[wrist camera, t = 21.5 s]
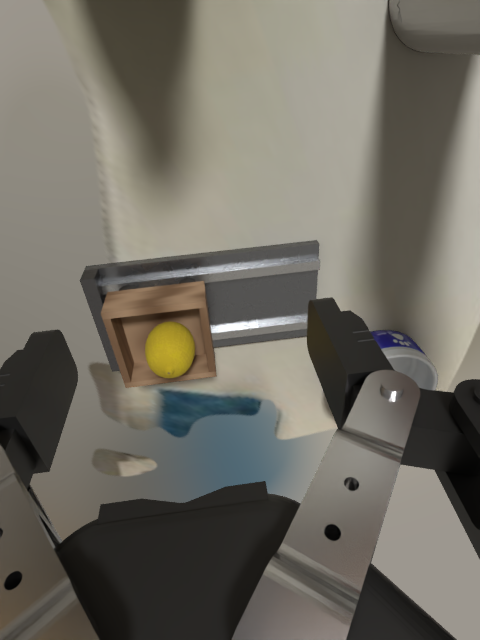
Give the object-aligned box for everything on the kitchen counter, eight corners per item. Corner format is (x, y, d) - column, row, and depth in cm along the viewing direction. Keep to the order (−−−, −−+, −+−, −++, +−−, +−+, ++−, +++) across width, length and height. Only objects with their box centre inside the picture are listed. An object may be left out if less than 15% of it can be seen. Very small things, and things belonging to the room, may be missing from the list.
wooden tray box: (203, 272, 46) (205, 301, 41) (213, 343, 53) (216, 376, 48) (110, 283, 46) (100, 313, 41) (131, 354, 52) (125, 387, 47)
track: (316, 240, 48) (324, 252, 45) (312, 330, 56) (318, 345, 53) (86, 266, 47) (79, 280, 44) (116, 354, 55) (112, 371, 52)
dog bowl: (430, 325, 58) (453, 350, 53) (405, 396, 67) (422, 424, 62) (331, 331, 57) (345, 359, 52) (319, 404, 66) (329, 433, 61)
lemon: (139, 319, 46) (131, 364, 39) (182, 301, 45) (181, 345, 39) (161, 351, 49) (158, 398, 43) (202, 335, 48) (204, 381, 42)
